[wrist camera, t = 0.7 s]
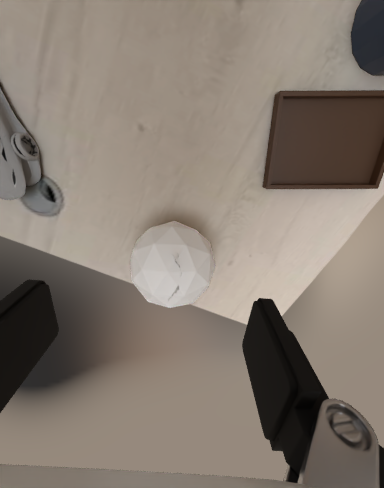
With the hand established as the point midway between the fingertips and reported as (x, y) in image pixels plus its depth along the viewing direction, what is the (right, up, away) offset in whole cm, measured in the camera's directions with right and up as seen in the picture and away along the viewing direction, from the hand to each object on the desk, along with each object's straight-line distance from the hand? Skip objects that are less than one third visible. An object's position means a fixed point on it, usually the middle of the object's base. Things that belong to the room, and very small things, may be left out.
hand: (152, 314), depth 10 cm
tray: (+23, +19, +23) cm, 38 cm away
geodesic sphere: (-1, +3, +31) cm, 31 cm away
